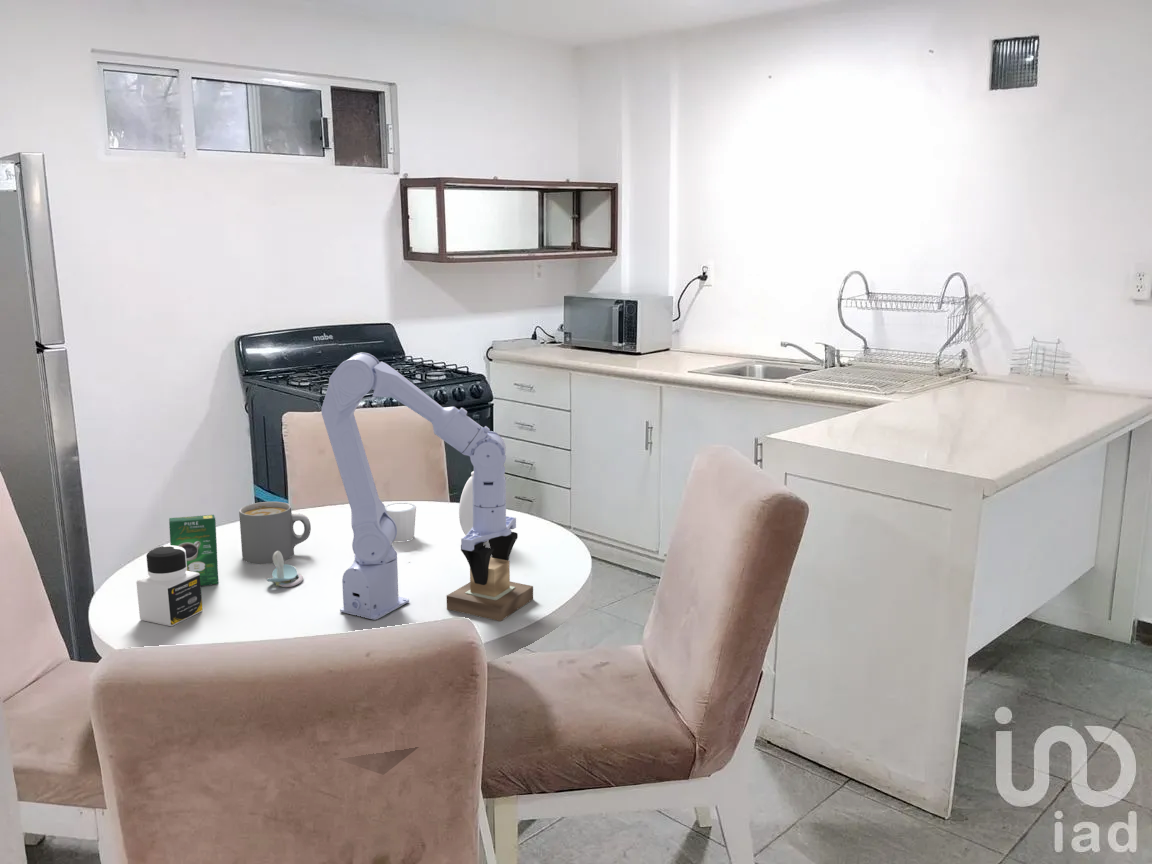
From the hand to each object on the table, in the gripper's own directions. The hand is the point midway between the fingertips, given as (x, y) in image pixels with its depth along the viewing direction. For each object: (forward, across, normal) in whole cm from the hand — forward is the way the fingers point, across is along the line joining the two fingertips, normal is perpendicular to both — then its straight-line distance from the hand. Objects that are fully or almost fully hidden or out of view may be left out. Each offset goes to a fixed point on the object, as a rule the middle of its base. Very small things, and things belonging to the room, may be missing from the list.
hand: (490, 577), depth 160 cm
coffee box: (+5, -18, +53) cm, 56 cm away
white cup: (+5, +22, +37) cm, 43 cm away
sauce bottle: (+5, +28, +21) cm, 35 cm away
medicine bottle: (+5, -30, +45) cm, 54 cm away
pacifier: (+5, -9, +39) cm, 41 cm away
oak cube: (+2, 0, 0) cm, 2 cm away
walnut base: (+5, 0, 0) cm, 5 cm away
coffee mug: (+5, +1, +52) cm, 52 cm away
